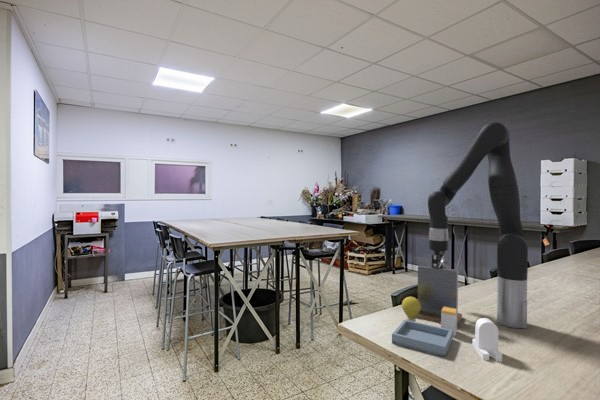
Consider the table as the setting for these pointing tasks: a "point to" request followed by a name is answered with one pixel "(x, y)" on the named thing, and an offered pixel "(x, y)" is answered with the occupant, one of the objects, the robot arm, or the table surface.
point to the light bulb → (411, 308)
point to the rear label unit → (437, 292)
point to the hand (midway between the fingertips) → (438, 277)
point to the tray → (423, 337)
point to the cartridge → (449, 319)
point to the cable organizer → (486, 340)
